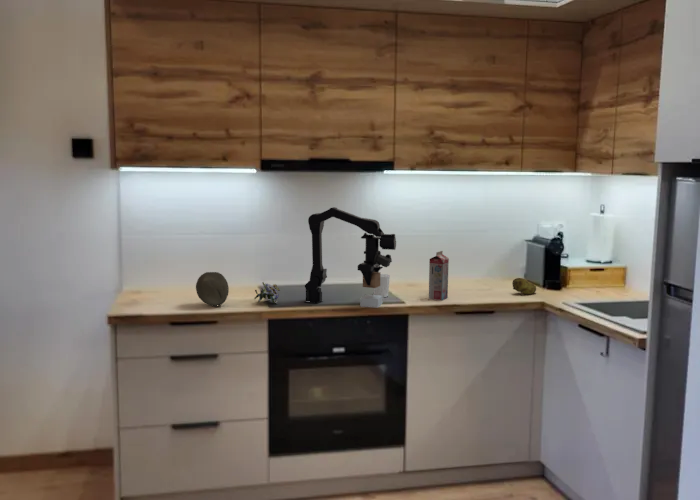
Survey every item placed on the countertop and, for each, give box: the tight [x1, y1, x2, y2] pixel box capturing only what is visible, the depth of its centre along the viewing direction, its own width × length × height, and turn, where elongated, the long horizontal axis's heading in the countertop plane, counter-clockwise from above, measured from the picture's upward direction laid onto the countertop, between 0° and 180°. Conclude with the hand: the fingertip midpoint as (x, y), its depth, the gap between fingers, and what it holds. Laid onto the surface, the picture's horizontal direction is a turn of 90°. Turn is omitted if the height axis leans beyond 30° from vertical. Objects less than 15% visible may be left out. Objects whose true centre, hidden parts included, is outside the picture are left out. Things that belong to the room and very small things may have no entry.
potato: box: [512, 277, 537, 295], centre depth 318 cm, size 8×13×8 cm, turn 98°
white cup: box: [372, 273, 390, 298], centre depth 310 cm, size 8×8×10 cm
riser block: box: [359, 294, 384, 308], centre depth 291 cm, size 8×8×4 cm
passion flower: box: [253, 281, 281, 304], centre depth 293 cm, size 11×11×12 cm
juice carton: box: [428, 250, 450, 302], centre depth 305 cm, size 7×7×22 cm
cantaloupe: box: [195, 271, 230, 307], centre depth 286 cm, size 14×14×15 cm
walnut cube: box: [362, 271, 382, 289], centre depth 290 cm, size 6×6×6 cm
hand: (371, 284), depth 290 cm, fingers closed on walnut cube, 6 cm apart
